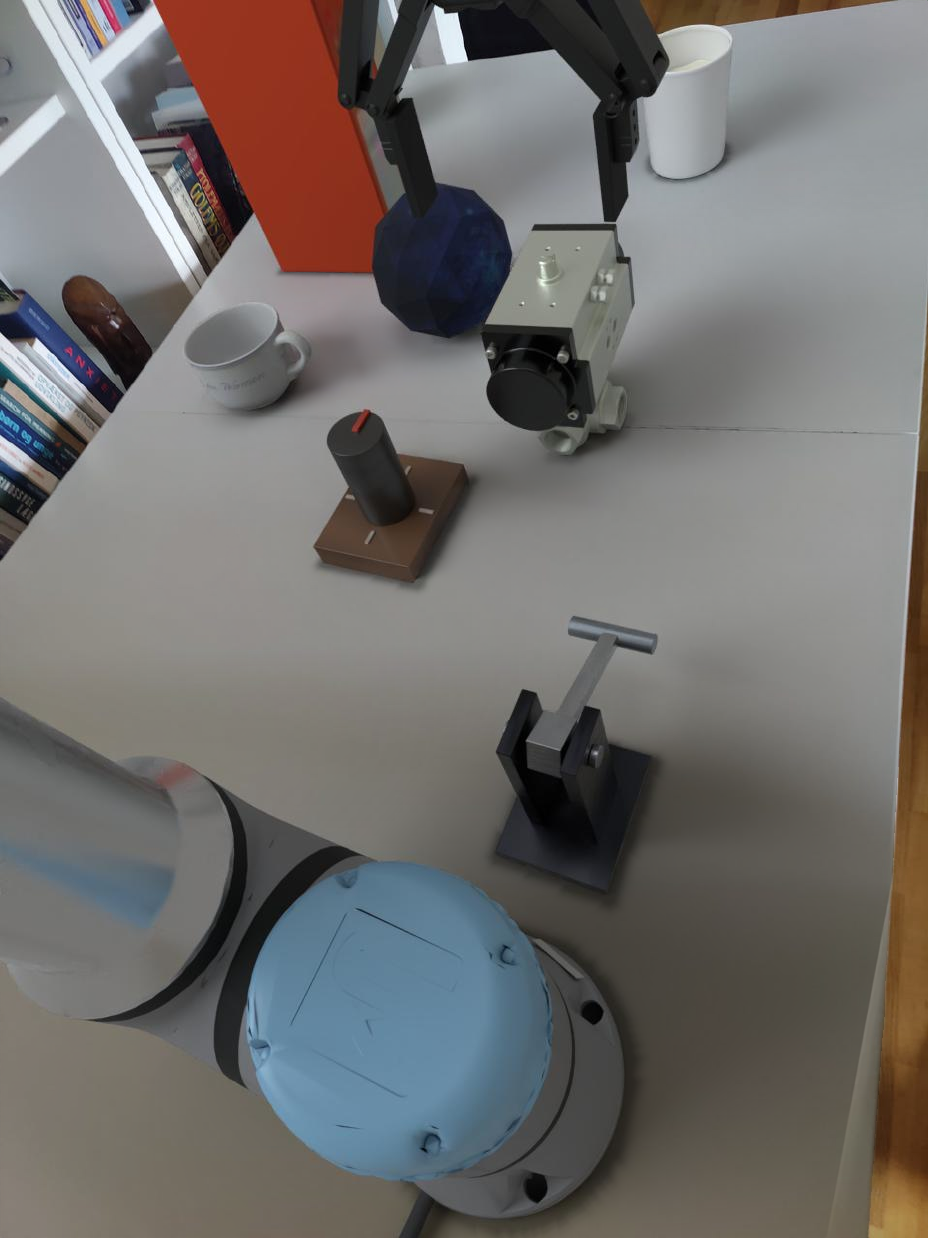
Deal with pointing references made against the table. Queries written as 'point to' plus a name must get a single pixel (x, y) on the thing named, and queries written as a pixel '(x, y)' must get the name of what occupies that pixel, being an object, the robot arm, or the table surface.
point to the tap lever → (580, 690)
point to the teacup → (245, 355)
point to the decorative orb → (441, 262)
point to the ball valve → (561, 334)
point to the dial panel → (395, 524)
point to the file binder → (289, 125)
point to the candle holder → (690, 102)
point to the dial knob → (371, 467)
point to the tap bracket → (570, 799)
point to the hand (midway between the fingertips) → (516, 208)
